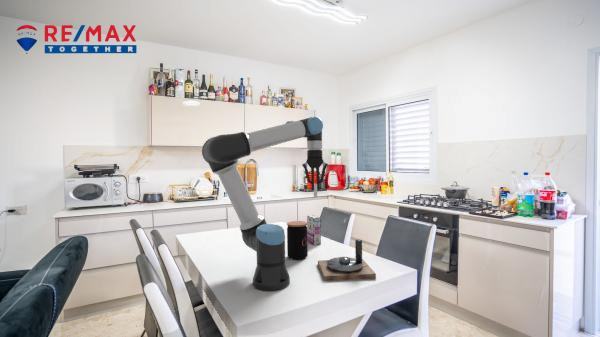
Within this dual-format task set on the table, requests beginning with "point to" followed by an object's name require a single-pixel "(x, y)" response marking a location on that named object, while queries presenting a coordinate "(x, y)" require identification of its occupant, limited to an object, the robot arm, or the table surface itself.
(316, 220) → the candy bar box
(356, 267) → the capstan turntable
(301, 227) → the coffee jar
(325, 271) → the walnut base
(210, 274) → the table surface
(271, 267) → the robot arm
